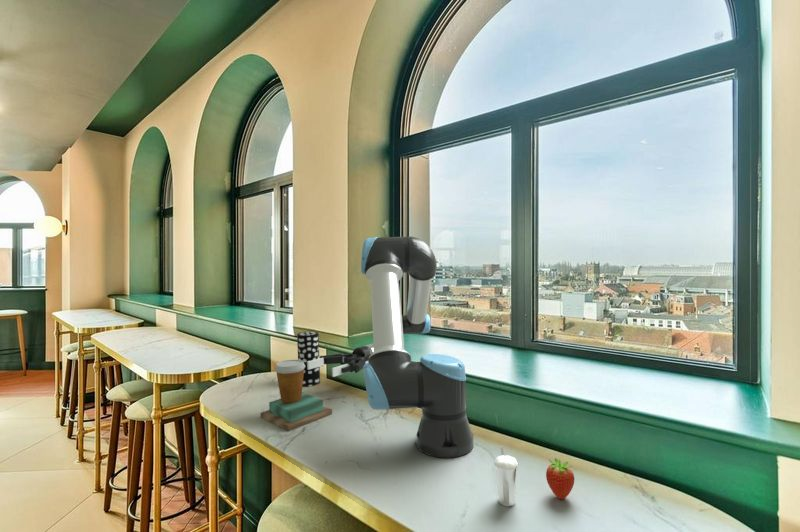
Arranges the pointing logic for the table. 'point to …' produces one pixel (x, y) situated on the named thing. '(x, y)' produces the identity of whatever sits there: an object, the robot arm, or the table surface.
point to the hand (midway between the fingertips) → (319, 369)
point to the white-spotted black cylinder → (309, 356)
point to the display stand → (296, 412)
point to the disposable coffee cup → (290, 380)
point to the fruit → (560, 479)
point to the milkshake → (506, 478)
